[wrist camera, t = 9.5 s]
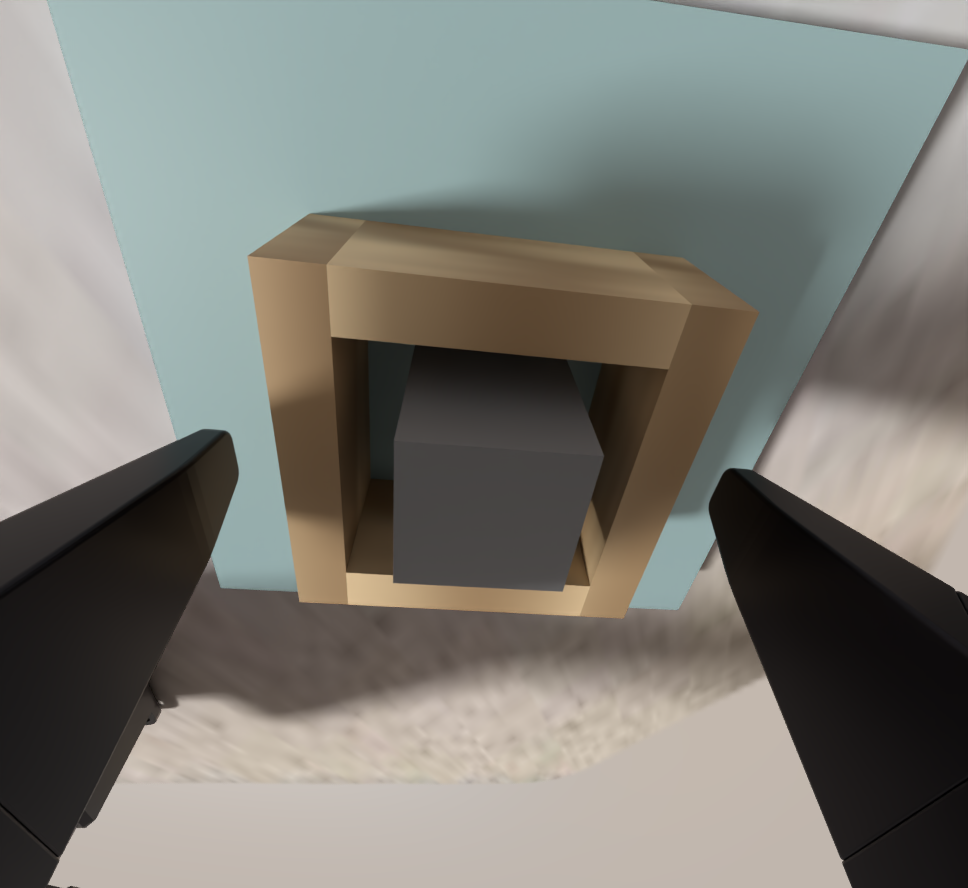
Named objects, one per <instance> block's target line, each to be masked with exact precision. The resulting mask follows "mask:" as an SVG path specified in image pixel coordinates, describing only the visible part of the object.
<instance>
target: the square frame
mask: <svg viewBox="0 0 968 888" xmlns="http://www.w3.org/2000/svg"><path fill="white" fill-rule="evenodd" d="M247 257H248V264H249V271H250V277H251V284H252V291H253V297H254V304H255V310H256V317H257V324H258V330H259V337H260V344H261V350H262V357H263V364H264V370H265V377H266V383H267V390H268V397H269V403H270V410H271V417H272V423H273V430H274V437H275V443H276V450H277V456H278V463H279V470H280V476H281V483H282V490H283V496H284V503H285V510H286V516H287V523H288V529H289V536H290V543H291V549H292V556H293V563H294V569H295V576H296V582H297V589H298V596H299V602H308V603H328V604H347V605H367V606H387V607H406V608H426V609H446V610H466V611H485V612H505V613H525V614H545V615H564V616H584V617H604V618H624V616H625V614H626V612H627V609H628V607H629V605H630V603H631V600H632V598H633V596H634V594H635V591H636V589H637V587H638V585H639V582H640V580H641V578H642V576H643V573H644V571H645V569H646V567H647V564H648V562H649V560H650V558H651V555H652V553H653V551H654V549H655V546H656V544H657V542H658V540H659V537H660V535H661V533H662V531H663V528H664V526H665V524H666V522H667V519H668V517H669V515H670V513H671V510H672V508H673V506H674V504H675V501H676V499H677V497H678V495H679V492H680V490H681V488H682V486H683V483H684V481H685V479H686V477H687V474H688V472H689V470H690V468H691V465H692V463H693V461H694V459H695V456H696V454H697V452H698V450H699V447H700V445H701V443H702V441H703V438H704V436H705V434H706V432H707V429H708V427H709V425H710V423H711V420H712V418H713V416H714V414H715V411H716V409H717V407H718V405H719V402H720V400H721V398H722V396H723V393H724V391H725V389H726V387H727V384H728V382H729V380H730V378H731V375H732V373H733V371H734V369H735V366H736V364H737V362H738V360H739V357H740V355H741V353H742V351H743V348H744V346H745V344H746V342H747V339H748V337H749V335H750V333H751V330H752V328H753V326H754V324H755V321H756V319H757V317H758V315H759V311H757V310H756V309H755V308H753V307H752V306H750V305H749V304H748V303H746V302H745V301H743V300H742V299H741V298H739V297H738V296H736V295H735V294H734V293H732V292H731V291H729V290H728V289H727V288H725V287H724V286H722V285H721V284H720V283H718V282H717V281H715V280H714V279H712V278H711V277H710V276H708V275H707V274H705V273H704V272H703V271H701V270H700V269H698V268H697V267H696V266H694V265H693V264H691V263H690V262H689V261H687V260H686V259H684V258H682V257H673V256H665V255H656V254H648V253H639V252H631V251H622V250H614V249H605V248H597V247H588V246H580V245H571V244H563V243H554V242H546V241H537V240H529V239H521V238H512V237H504V236H495V235H487V234H478V233H470V232H461V231H453V230H444V229H436V228H427V227H419V226H410V225H402V224H393V223H385V222H377V221H368V220H360V219H351V218H343V217H334V216H326V215H317V214H308V215H306V216H305V217H304V218H302V219H301V220H299V221H298V222H296V223H295V224H293V225H292V226H290V227H289V228H287V229H286V230H284V231H283V232H282V233H280V234H279V235H277V236H276V237H274V238H273V239H271V240H270V241H268V242H267V243H265V244H264V245H263V246H261V247H260V248H258V249H257V250H255V251H254V252H252V253H251V254H249V255H248V256H247ZM368 340H371V341H381V342H392V343H402V344H412V345H423V346H433V347H443V348H453V349H464V350H474V351H484V352H495V353H505V354H515V355H526V356H536V357H546V358H556V359H567V360H577V361H587V362H598V363H602V366H601V369H600V373H599V376H598V380H597V384H596V387H595V391H594V395H593V398H592V402H591V406H590V409H589V413H588V416H589V418H590V421H591V424H592V426H593V429H594V431H595V434H596V437H597V439H598V442H599V444H600V447H601V449H602V452H603V455H604V458H603V462H602V465H601V468H600V472H599V475H598V478H597V481H596V485H595V488H594V491H593V494H592V498H591V501H590V504H589V508H588V511H587V514H586V517H585V521H584V524H583V527H582V530H581V534H580V537H579V540H578V544H577V547H576V550H575V553H574V557H573V560H572V563H571V566H570V570H569V573H568V576H567V579H566V583H565V586H564V589H563V592H558V591H538V590H518V589H498V588H478V587H458V586H438V585H419V584H399V583H393V508H394V480H384V479H371V470H370V417H369V363H368Z"/></svg>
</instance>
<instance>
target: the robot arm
mask: <svg viewBox="0 0 968 888" xmlns="http://www.w3.org/2000/svg"><path fill="white" fill-rule="evenodd" d="M238 478H239V467H238V462H237V458H236V453H235V448H234V444H233V439H232V436H231V434H230V433H229V432H228V431H226V430H216V429H201V430H199V431H197V432H194V433H192V434H190V435H188V436H186V437H184V438H181V439H179V440H177V441H175V442H173V443H171V444H168V445H166V446H164V447H162V448H160V449H157V450H155V451H153V452H151V453H149V454H147V455H144V456H142V457H140V458H138V459H136V460H134V461H131V462H129V463H127V464H125V465H123V466H120V467H118V468H116V469H114V470H112V471H110V472H107V473H105V474H103V475H101V476H99V477H96V478H94V479H92V480H90V481H88V482H86V483H83V484H81V485H79V486H77V487H75V488H73V489H70V490H68V491H66V492H64V493H62V494H59V495H57V496H55V497H53V498H51V499H49V500H46V501H44V502H42V503H40V504H38V505H35V506H33V507H31V508H29V509H27V510H25V511H22V512H20V513H18V514H16V515H14V516H12V517H9V518H7V519H5V520H3V521H1V522H0V888H59V887H55V886H51V885H48V883H49V881H50V879H51V877H52V875H53V873H54V871H55V869H56V867H57V864H58V863H59V859H60V857H61V855H62V854H63V852H64V850H65V848H66V846H67V844H68V842H69V840H70V838H71V836H72V835H73V833H74V831H75V829H76V828H86V827H87V826H88V825H89V824H91V823H92V822H93V821H94V820H95V819H96V818H97V816H98V814H99V812H100V810H101V808H102V806H103V804H104V802H105V800H106V798H107V797H108V795H109V793H110V791H111V789H112V787H113V785H114V783H115V781H116V779H117V777H118V775H119V774H120V772H121V770H122V768H123V766H124V764H125V762H126V760H127V758H128V756H129V754H130V752H131V751H132V749H133V747H134V745H135V743H136V741H137V739H138V737H139V735H140V733H141V731H142V729H143V728H144V726H145V725H151V724H154V723H155V722H156V721H157V719H158V717H159V715H160V713H161V709H160V707H159V705H158V703H157V701H156V699H155V697H154V695H153V693H152V691H151V689H150V687H149V685H148V682H149V680H150V678H151V676H152V674H153V672H154V670H155V668H156V666H157V664H158V662H159V660H160V658H161V656H162V654H163V652H164V650H165V648H166V646H167V644H168V642H169V640H170V638H171V636H172V634H173V632H174V630H175V628H176V626H177V624H178V622H179V620H180V618H181V616H182V614H183V612H184V610H185V608H186V606H187V604H188V602H189V600H190V598H191V596H192V594H193V592H194V590H195V588H196V585H197V583H198V581H199V579H200V577H201V575H202V573H203V571H204V569H205V567H206V565H207V563H208V561H209V559H210V557H211V555H212V552H213V549H214V547H215V544H216V542H217V539H218V536H219V533H220V530H221V527H222V525H223V522H224V519H225V516H226V513H227V511H228V508H229V505H230V502H231V499H232V496H233V494H234V491H235V488H236V485H237V482H238ZM708 509H709V516H710V519H711V523H712V526H713V530H714V533H715V537H716V540H717V544H718V547H719V551H720V554H721V558H722V561H723V565H724V568H725V572H726V575H727V578H728V581H729V584H730V587H731V589H732V592H733V595H734V597H735V600H736V602H737V605H738V607H739V610H740V612H741V615H742V617H743V619H744V622H745V624H746V627H747V629H748V632H749V634H750V637H751V639H752V642H753V644H754V647H755V649H756V651H757V654H758V656H759V659H760V661H761V664H762V666H763V669H764V671H765V674H766V676H767V679H768V681H769V683H770V686H771V688H772V691H773V693H774V696H775V698H776V701H777V703H778V706H779V708H780V710H781V713H782V715H783V718H784V720H785V723H786V725H787V728H788V730H789V733H790V735H791V738H792V740H793V742H794V745H795V747H796V750H797V752H798V755H799V757H800V760H801V762H802V764H803V767H804V770H805V772H806V774H807V777H808V779H809V782H810V784H811V787H812V789H813V792H814V794H815V797H816V799H817V801H818V804H819V806H820V809H821V811H822V814H823V816H824V819H825V821H826V824H827V826H828V828H829V831H830V834H831V836H832V838H833V841H834V843H835V846H836V848H837V850H838V853H839V856H840V858H841V859H842V860H843V862H842V863H843V866H844V869H845V871H846V874H847V876H848V879H849V881H850V884H851V886H852V888H968V596H967V595H965V594H964V593H962V592H959V591H955V589H954V588H953V587H951V586H950V585H948V584H946V583H944V582H943V581H941V580H939V579H938V578H936V577H934V576H932V575H931V574H929V573H927V572H926V571H924V570H922V569H920V568H919V567H917V566H915V565H914V564H912V563H910V562H908V561H907V560H905V559H903V558H902V557H900V556H898V555H896V554H895V553H893V552H891V551H890V550H888V549H886V548H884V547H883V546H881V545H879V544H878V543H876V542H874V541H872V540H871V539H869V538H867V537H866V536H864V535H862V534H860V533H859V532H857V531H855V530H854V529H852V528H850V527H848V526H847V525H845V524H843V523H842V522H840V521H838V520H836V519H835V518H833V517H831V516H830V515H828V514H826V513H824V512H823V511H821V510H819V509H818V508H816V507H814V506H812V505H811V504H809V503H807V502H806V501H804V500H802V499H800V498H799V497H797V496H795V495H794V494H792V493H790V492H788V491H787V490H785V489H783V488H782V487H780V486H778V485H776V484H775V483H773V482H771V481H770V480H768V479H766V478H764V477H763V476H761V475H759V474H758V473H756V472H754V471H752V470H750V469H741V468H729V469H727V470H725V471H724V472H723V474H722V476H721V478H720V480H719V482H718V484H717V486H716V488H715V490H714V492H713V494H712V496H711V498H710V501H709V507H708ZM68 888H78V887H73V886H70V887H68Z"/></svg>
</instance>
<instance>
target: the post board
mask: <svg viewBox="0 0 968 888" xmlns="http://www.w3.org/2000/svg"><path fill="white" fill-rule="evenodd" d="M47 3H48V6H49V9H50V13H51V16H52V19H53V23H54V26H55V30H56V33H57V36H58V40H59V43H60V46H61V50H62V53H63V57H64V60H65V63H66V67H67V70H68V74H69V77H70V80H71V84H72V87H73V90H74V94H75V97H76V101H77V104H78V107H79V111H80V114H81V117H82V121H83V124H84V128H85V131H86V134H87V138H88V141H89V145H90V148H91V151H92V155H93V158H94V161H95V165H96V168H97V172H98V175H99V178H100V182H101V185H102V188H103V192H104V195H105V199H106V202H107V205H108V209H109V212H110V216H111V219H112V222H113V226H114V229H115V232H116V236H117V239H118V243H119V246H120V249H121V253H122V256H123V260H124V263H125V266H126V270H127V273H128V276H129V280H130V283H131V287H132V290H133V293H134V297H135V300H136V303H137V307H138V310H139V314H140V317H141V320H142V324H143V327H144V331H145V334H146V337H147V341H148V344H149V347H150V351H151V354H152V358H153V361H154V364H155V368H156V371H157V374H158V378H159V381H160V385H161V388H162V391H163V395H164V398H165V402H166V405H167V408H168V412H169V415H170V418H171V422H172V425H173V429H174V432H175V435H176V439H177V440H179V439H181V438H184V437H186V436H188V435H190V434H192V433H194V432H197V431H199V430H201V429H216V430H226V431H228V432H229V433H230V434H231V436H232V439H233V444H234V448H235V453H236V458H237V462H238V467H239V478H238V482H237V485H236V488H235V491H234V494H233V496H232V499H231V502H230V505H229V508H228V511H227V513H226V516H225V519H224V522H223V525H222V527H221V530H220V533H219V536H218V539H217V542H216V544H215V547H214V549H213V552H212V555H211V557H212V560H213V564H214V567H215V571H216V574H217V577H218V581H219V584H220V588H229V589H250V590H270V591H291V592H298V589H297V582H296V576H295V569H294V563H293V556H292V549H291V543H290V536H289V529H288V523H287V516H286V510H285V503H284V496H283V490H282V483H281V476H280V470H279V463H278V456H277V450H276V443H275V437H274V430H273V423H272V417H271V410H270V403H269V397H268V390H267V383H266V377H265V370H264V364H263V357H262V350H261V344H260V337H259V330H258V324H257V317H256V310H255V304H254V297H253V291H252V284H251V277H250V271H249V264H248V257H247V256H248V255H249V254H251V253H252V252H254V251H255V250H257V249H258V248H260V247H261V246H263V245H264V244H265V243H267V242H268V241H270V240H271V239H273V238H274V237H276V236H277V235H279V234H280V233H282V232H283V231H284V230H286V229H287V228H289V227H290V226H292V225H293V224H295V223H296V222H298V221H299V220H301V219H302V218H304V217H305V216H306V215H308V214H317V215H326V216H334V217H343V218H351V219H360V220H368V221H377V222H385V223H393V224H402V225H410V226H419V227H427V228H436V229H444V230H453V231H461V232H470V233H478V234H487V235H495V236H504V237H512V238H521V239H529V240H537V241H546V242H554V243H563V244H571V245H580V246H588V247H597V248H605V249H614V250H622V251H631V252H639V253H648V254H656V255H665V256H673V257H682V258H684V259H686V260H687V261H689V262H690V263H691V264H693V265H694V266H696V267H697V268H698V269H700V270H701V271H703V272H704V273H705V274H707V275H708V276H710V277H711V278H712V279H714V280H715V281H717V282H718V283H720V284H721V285H722V286H724V287H725V288H727V289H728V290H729V291H731V292H732V293H734V294H735V295H736V296H738V297H739V298H741V299H742V300H743V301H745V302H746V303H748V304H749V305H750V306H752V307H753V308H755V309H756V310H757V311H759V315H758V317H757V319H756V321H755V324H754V326H753V328H752V330H751V333H750V335H749V337H748V339H747V342H746V344H745V346H744V348H743V351H742V353H741V355H740V357H739V360H738V362H737V364H736V366H735V369H734V371H733V373H732V375H731V378H730V380H729V382H728V384H727V387H726V389H725V391H724V393H723V396H722V398H721V400H720V402H719V405H718V407H717V409H716V411H715V414H714V416H713V418H712V420H711V423H710V425H709V427H708V429H707V432H706V434H705V436H704V438H703V441H702V443H701V445H700V447H699V450H698V452H697V454H696V456H695V459H694V461H693V463H692V465H691V468H690V470H689V472H688V474H687V477H686V479H685V481H684V483H683V486H682V488H681V490H680V492H679V495H678V497H677V499H676V501H675V504H674V506H673V508H672V510H671V513H670V515H669V517H668V519H667V522H666V524H665V526H664V528H663V531H662V533H661V535H660V537H659V540H658V542H657V544H656V546H655V549H654V551H653V553H652V555H651V558H650V560H649V562H648V564H647V567H646V569H645V571H644V573H643V576H642V578H641V580H640V582H639V585H638V587H637V589H636V591H635V594H634V596H633V598H632V600H631V603H630V605H629V607H628V608H644V609H665V610H678V609H679V607H680V606H681V604H682V602H683V600H684V598H685V596H686V594H687V592H688V590H689V588H690V587H691V585H692V583H693V581H694V579H695V577H696V575H697V573H698V571H699V569H700V568H701V566H702V564H703V562H704V560H705V558H706V556H707V554H708V552H709V550H710V549H711V547H712V545H713V543H714V541H715V539H716V537H715V533H714V530H713V526H712V523H711V519H710V516H709V509H708V507H709V501H710V498H711V496H712V494H713V492H714V490H715V488H716V486H717V484H718V482H719V480H720V478H721V476H722V474H723V472H724V471H725V470H727V469H729V468H741V469H750V470H752V469H753V467H754V465H755V463H756V461H757V459H758V457H759V455H760V454H761V452H762V450H763V448H764V446H765V444H766V442H767V440H768V438H769V436H770V435H771V433H772V431H773V429H774V427H775V425H776V423H777V421H778V419H779V417H780V416H781V414H782V412H783V410H784V408H785V406H786V404H787V402H788V400H789V398H790V397H791V395H792V393H793V391H794V389H795V387H796V385H797V383H798V381H799V379H800V378H801V376H802V374H803V372H804V370H805V368H806V366H807V364H808V362H809V360H810V359H811V357H812V355H813V353H814V351H815V349H816V347H817V345H818V343H819V341H820V340H821V338H822V336H823V334H824V332H825V330H826V328H827V326H828V324H829V322H830V321H831V319H832V317H833V315H834V313H835V311H836V309H837V307H838V305H839V303H840V302H841V300H842V298H843V296H844V294H845V292H846V290H847V288H848V286H849V284H850V283H851V281H852V279H853V277H854V275H855V273H856V271H857V269H858V267H859V265H860V264H861V262H862V260H863V258H864V256H865V254H866V252H867V250H868V248H869V246H870V245H871V243H872V241H873V239H874V237H875V235H876V233H877V231H878V229H879V227H880V226H881V224H882V222H883V220H884V218H885V216H886V214H887V212H888V210H889V208H890V207H891V205H892V203H893V201H894V199H895V197H896V195H897V193H898V191H899V189H900V188H901V186H902V184H903V182H904V180H905V178H906V176H907V174H908V172H909V170H910V169H911V167H912V165H913V163H914V161H915V159H916V157H917V155H918V153H919V151H920V150H921V148H922V146H923V144H924V142H925V140H926V138H927V136H928V134H929V132H930V131H931V129H932V127H933V125H934V123H935V121H936V119H937V117H938V115H939V113H940V112H941V110H942V108H943V106H944V104H945V102H946V100H947V98H948V96H949V94H950V93H951V91H952V89H953V87H954V85H955V83H956V81H957V79H958V77H959V75H960V74H961V72H962V70H963V68H964V66H965V64H966V62H967V60H968V49H962V48H955V47H949V46H943V45H936V44H930V43H923V42H917V41H910V40H904V39H897V38H891V37H884V36H878V35H872V34H865V33H859V32H852V31H846V30H839V29H833V28H826V27H820V26H813V25H807V24H801V23H794V22H788V21H781V20H775V19H768V18H762V17H755V16H749V15H742V14H736V13H730V12H723V11H717V10H710V9H704V8H697V7H691V6H684V5H678V4H671V3H665V2H659V1H652V0H47ZM368 363H369V417H370V470H371V479H384V480H394V508H393V583H399V584H419V585H438V586H458V587H478V588H498V589H518V590H538V591H558V592H563V589H564V586H565V583H566V579H567V576H568V573H569V570H570V566H571V563H572V560H573V557H574V553H575V550H576V547H577V544H578V540H579V537H580V534H581V530H582V527H583V524H584V521H585V517H586V514H587V511H588V508H589V504H590V501H591V498H592V494H593V491H594V488H595V485H596V481H597V478H598V475H599V472H600V468H601V465H602V462H603V458H604V455H603V452H602V449H601V447H600V444H599V442H598V439H597V437H596V434H595V431H594V429H593V426H592V424H591V421H590V418H589V416H588V413H589V409H590V406H591V402H592V398H593V395H594V391H595V387H596V384H597V380H598V376H599V373H600V369H601V366H602V363H598V362H587V361H577V360H567V359H556V358H546V357H536V356H526V355H515V354H505V353H495V352H484V351H474V350H464V349H453V348H443V347H433V346H423V345H412V344H402V343H392V342H381V341H371V340H368Z"/></svg>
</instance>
